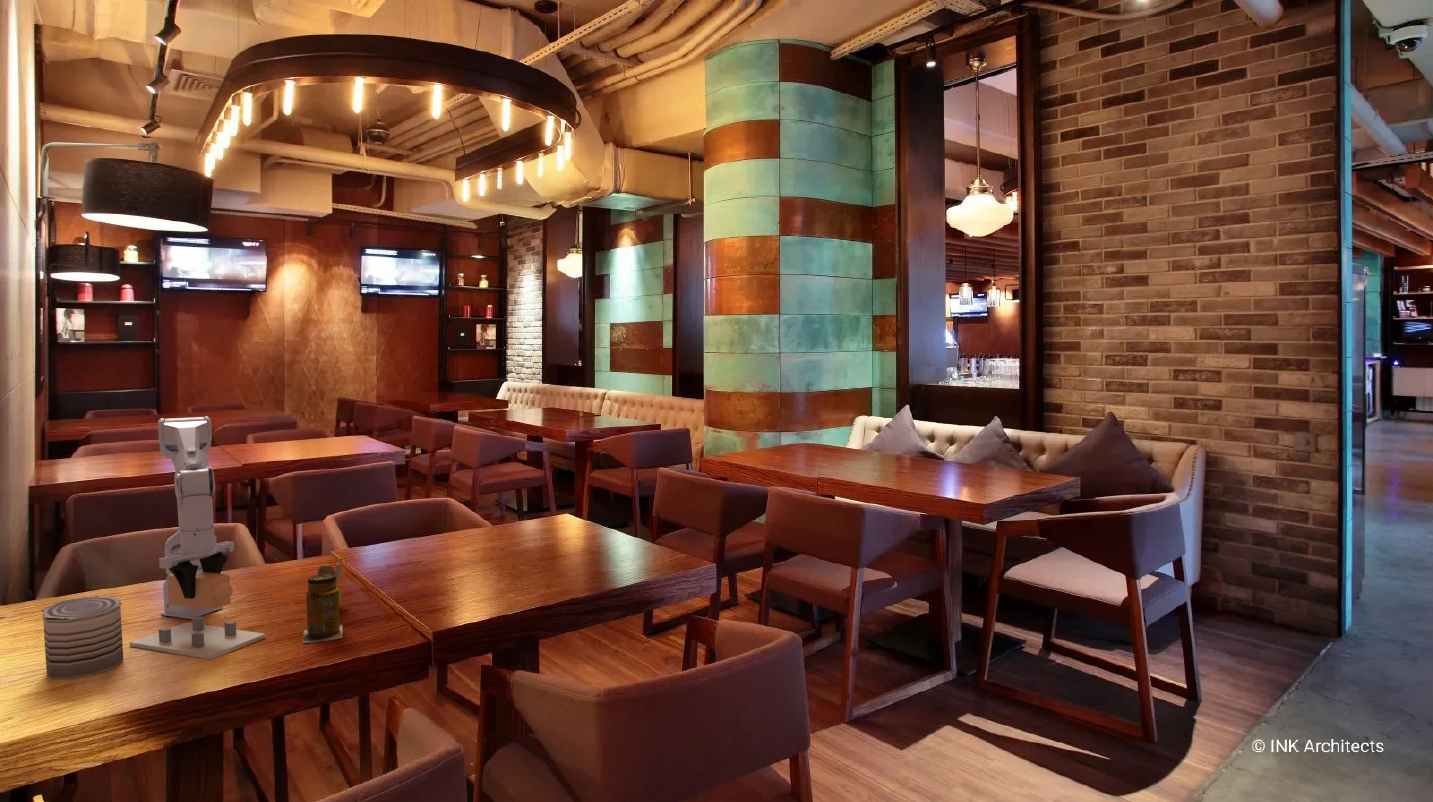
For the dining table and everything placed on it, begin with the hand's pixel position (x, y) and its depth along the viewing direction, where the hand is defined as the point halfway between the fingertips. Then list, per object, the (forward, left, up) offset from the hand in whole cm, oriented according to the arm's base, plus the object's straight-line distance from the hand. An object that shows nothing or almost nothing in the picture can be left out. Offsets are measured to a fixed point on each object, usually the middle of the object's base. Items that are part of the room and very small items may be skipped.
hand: (200, 594), depth 159 cm
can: (-8, -17, -10) cm, 21 cm away
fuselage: (0, 0, -2) cm, 2 cm away
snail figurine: (+10, +23, -10) cm, 27 cm away
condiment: (+21, +10, -10) cm, 25 cm away
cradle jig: (0, -1, -10) cm, 10 cm away
